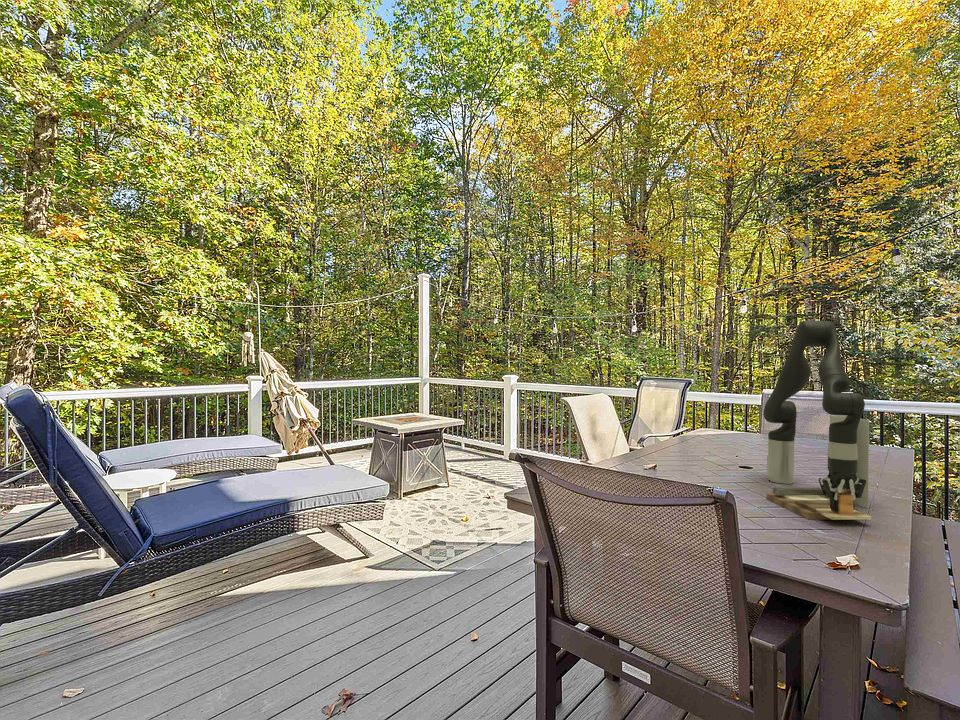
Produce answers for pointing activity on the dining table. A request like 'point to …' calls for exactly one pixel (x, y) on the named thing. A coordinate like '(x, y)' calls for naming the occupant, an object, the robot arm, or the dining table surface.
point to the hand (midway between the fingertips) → (841, 510)
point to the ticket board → (801, 500)
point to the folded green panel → (860, 457)
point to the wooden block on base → (843, 509)
